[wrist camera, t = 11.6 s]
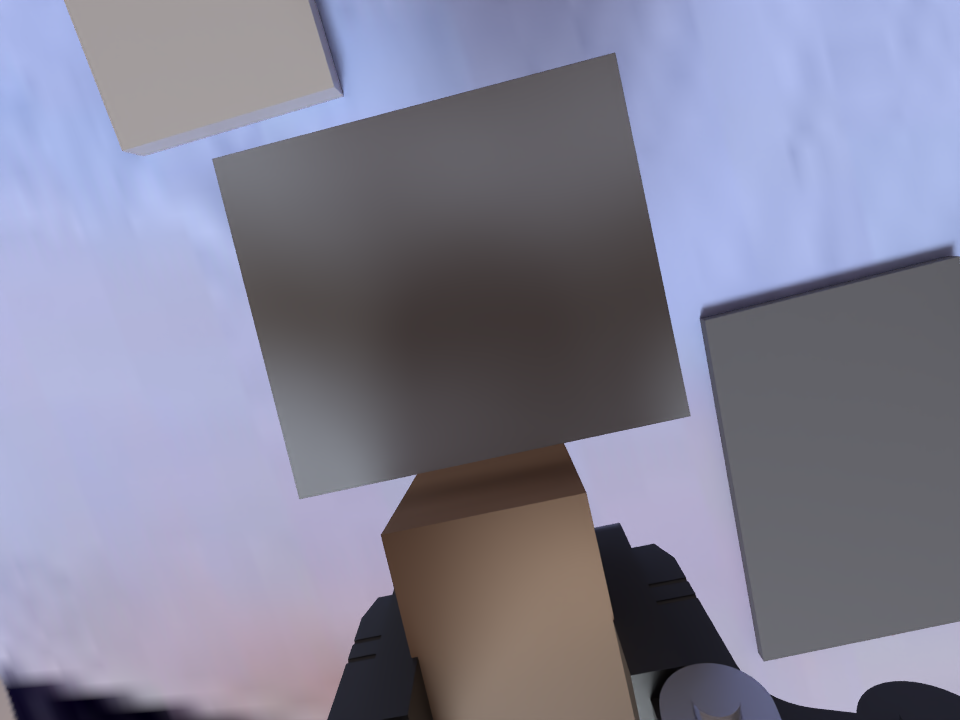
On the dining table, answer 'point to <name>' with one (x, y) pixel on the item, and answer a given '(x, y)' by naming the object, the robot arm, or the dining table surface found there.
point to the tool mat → (844, 455)
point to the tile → (202, 65)
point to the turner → (469, 362)
